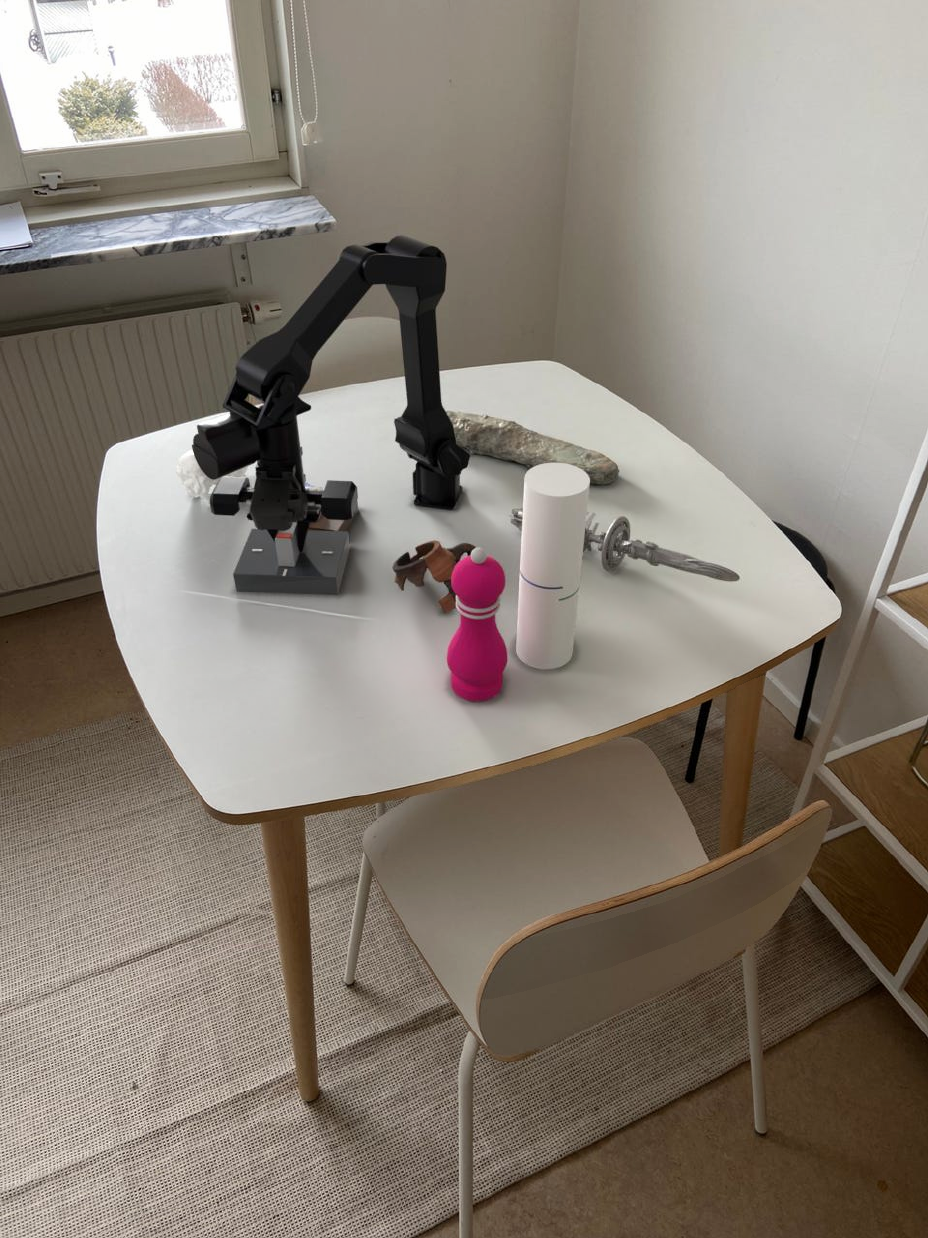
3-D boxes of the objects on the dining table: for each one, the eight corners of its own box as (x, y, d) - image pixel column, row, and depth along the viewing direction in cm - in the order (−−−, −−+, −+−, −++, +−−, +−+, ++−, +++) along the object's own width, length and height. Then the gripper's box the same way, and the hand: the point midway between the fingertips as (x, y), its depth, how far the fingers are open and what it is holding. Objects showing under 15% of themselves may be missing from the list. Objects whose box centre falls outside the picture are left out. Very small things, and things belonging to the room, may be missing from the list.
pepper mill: (500, 709, 109) (506, 572, 96) (441, 700, 110) (438, 564, 97) (510, 668, 114) (517, 534, 102) (453, 660, 115) (453, 526, 103)
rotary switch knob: (289, 537, 131) (285, 508, 128) (305, 537, 131) (301, 509, 128) (278, 566, 126) (274, 537, 122) (294, 566, 125) (290, 538, 122)
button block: (358, 510, 142) (356, 488, 139) (339, 543, 135) (336, 520, 132) (285, 501, 144) (281, 478, 141) (262, 532, 137) (258, 509, 135)
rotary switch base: (350, 548, 134) (348, 529, 132) (337, 595, 125) (335, 577, 123) (254, 544, 135) (251, 526, 133) (235, 592, 126) (232, 573, 124)
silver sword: (725, 583, 115) (750, 535, 118) (491, 518, 132) (517, 478, 135) (729, 618, 121) (752, 571, 124) (505, 552, 139) (530, 513, 141)
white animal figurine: (169, 450, 138) (226, 425, 147) (176, 501, 143) (231, 474, 152) (199, 462, 136) (256, 436, 144) (205, 513, 140) (260, 485, 149)
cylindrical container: (512, 633, 119) (520, 463, 104) (567, 630, 120) (583, 461, 104) (520, 671, 114) (529, 497, 98) (577, 667, 114) (595, 494, 98)
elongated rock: (600, 504, 146) (625, 479, 153) (606, 475, 142) (631, 450, 149) (415, 437, 158) (445, 417, 165) (416, 409, 155) (447, 389, 162)
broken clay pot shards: (430, 628, 121) (401, 576, 118) (404, 616, 129) (376, 567, 126) (502, 579, 124) (475, 526, 121) (472, 570, 132) (446, 521, 130)
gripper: (187, 479, 112) (209, 582, 122) (339, 485, 111) (349, 588, 121) (212, 435, 121) (231, 534, 131) (354, 440, 120) (362, 540, 130)
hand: (292, 550), depth 128 cm, fingers closed
